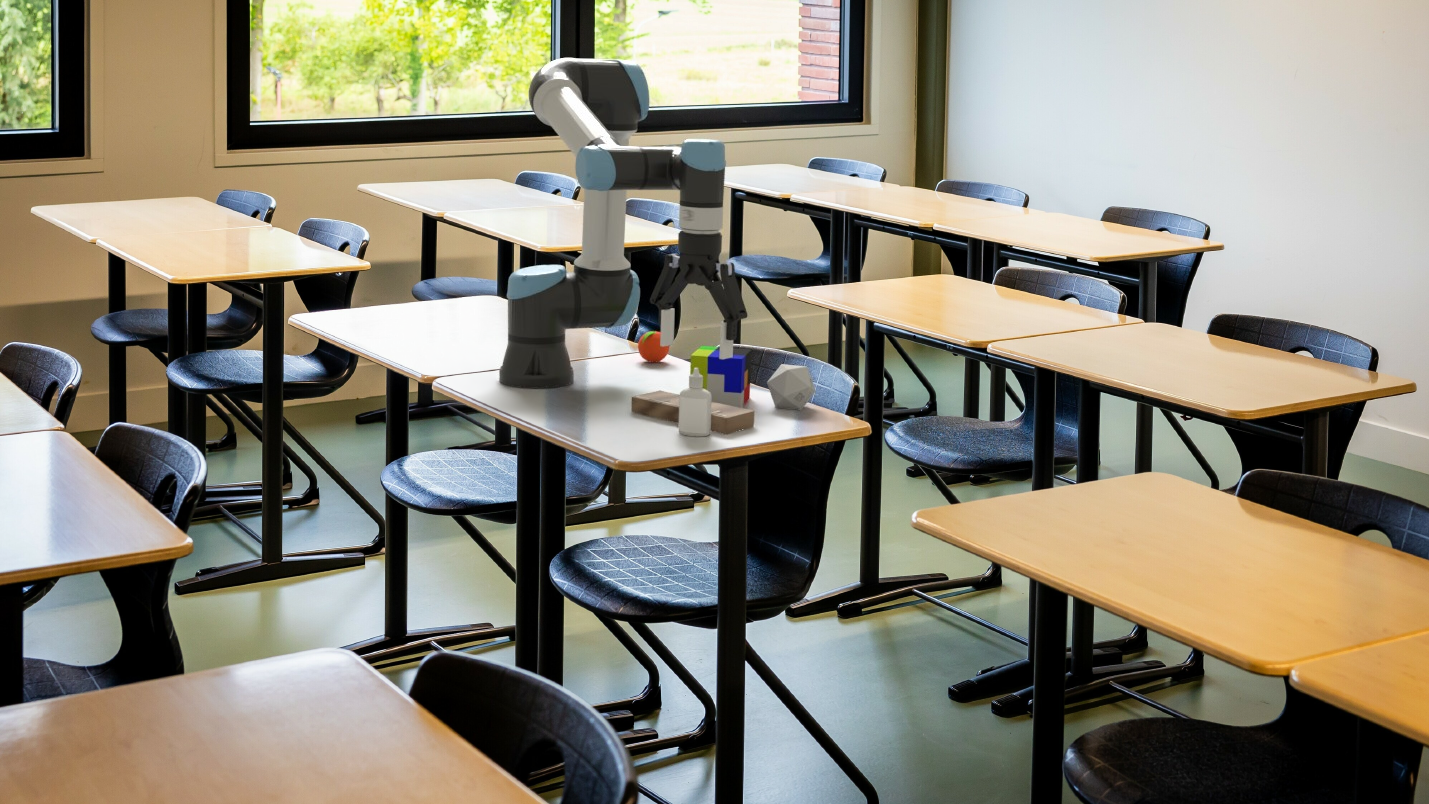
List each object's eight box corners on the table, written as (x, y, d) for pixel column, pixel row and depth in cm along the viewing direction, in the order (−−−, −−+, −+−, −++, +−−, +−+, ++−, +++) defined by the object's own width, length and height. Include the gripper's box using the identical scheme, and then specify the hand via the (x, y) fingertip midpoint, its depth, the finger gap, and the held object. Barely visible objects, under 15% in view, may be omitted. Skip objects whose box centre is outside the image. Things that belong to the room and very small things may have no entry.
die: (786, 417, 267) (819, 376, 267) (752, 389, 270) (784, 348, 270) (797, 424, 275) (830, 384, 275) (764, 396, 278) (795, 357, 278)
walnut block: (631, 412, 265) (631, 396, 264) (659, 405, 271) (659, 389, 270) (726, 434, 251) (726, 417, 250) (753, 426, 257) (754, 410, 256)
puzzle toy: (740, 410, 270) (742, 358, 268) (689, 406, 272) (690, 355, 269) (749, 398, 279) (751, 349, 277) (700, 395, 281) (701, 346, 279)
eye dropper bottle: (696, 439, 247) (698, 372, 244) (674, 433, 251) (676, 367, 248) (714, 435, 250) (716, 369, 247) (692, 429, 254) (694, 364, 251)
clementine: (655, 367, 306) (655, 335, 305) (628, 363, 310) (629, 331, 308) (674, 361, 313) (675, 330, 311) (648, 357, 316) (649, 326, 315)
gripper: (632, 224, 247) (629, 343, 252) (743, 240, 232) (738, 366, 237) (660, 221, 252) (657, 337, 258) (771, 237, 237) (765, 360, 242)
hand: (695, 351), depth 247 cm, fingers open, 13 cm apart
